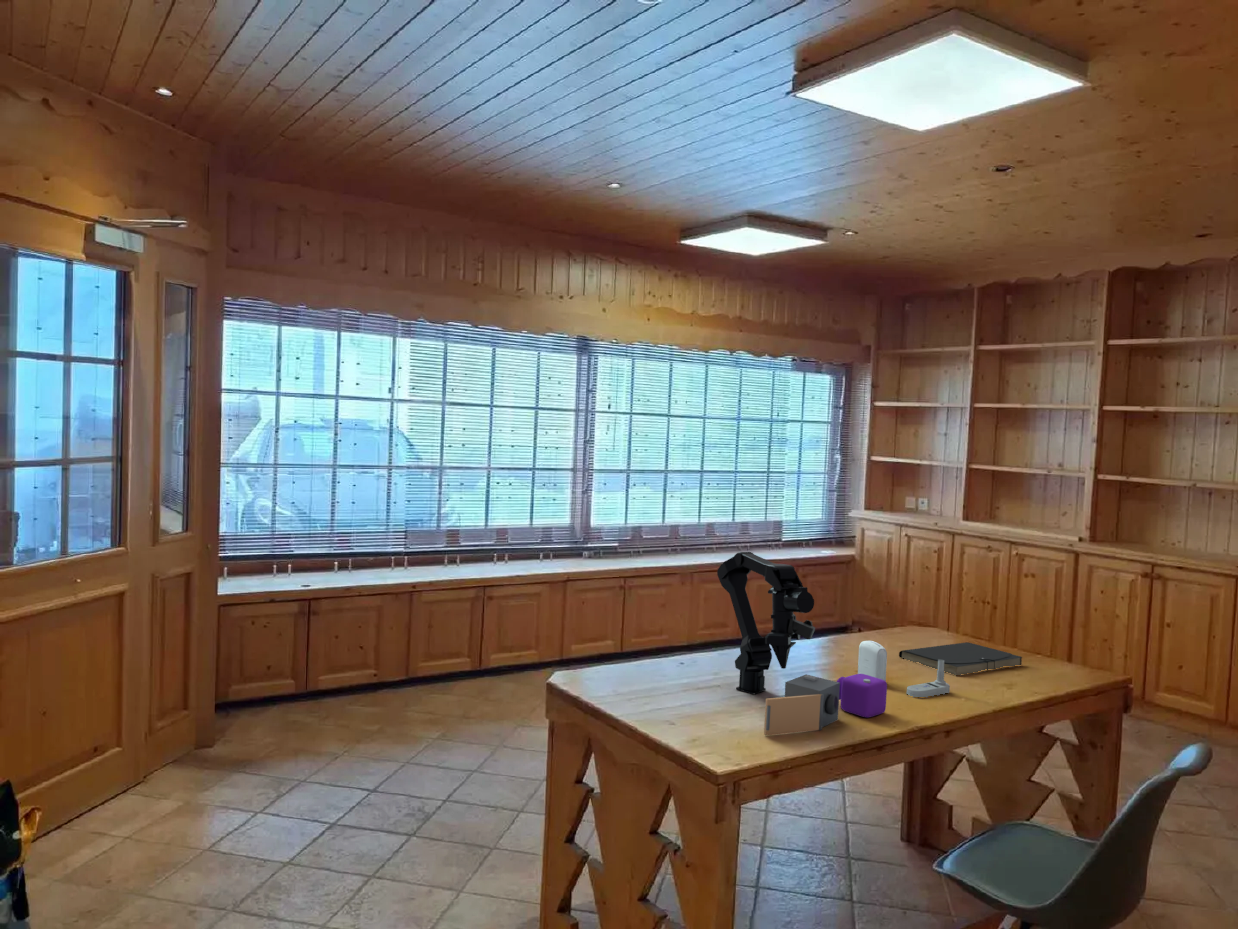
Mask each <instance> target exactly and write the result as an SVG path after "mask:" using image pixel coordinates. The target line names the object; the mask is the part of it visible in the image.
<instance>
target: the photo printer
mask: <svg viewBox="0 0 1238 929" xmlns="http://www.w3.org/2000/svg"><path fill="white" fill-rule="evenodd" d="M887 659H888V652H887V650H886V648H885V647H884V646H883V645H882V644H880V643H879V642H876V641H873V640H863V641H861V642H860V644H859V647H858V664H857V674H865V675H869V676H872V677H876V678H879V679H882V680H884V681H886V680H887V661H888V660H887ZM886 682H887V681H886Z"/></svg>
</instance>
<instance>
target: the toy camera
mask: <svg viewBox="0 0 1238 929" xmlns="http://www.w3.org/2000/svg"><path fill="white" fill-rule="evenodd" d="M836 682H839V683H840V691H839V700H840V708H841V710H842V711H845V712H847V713H850V714H854V715H856V716H858V717H859V716H860V717H862V718H866V719H867V718H872V717H875V716H878V715H881V714H883V713H885V712H886V707H887V694H888V693H887V691H888V684H887V681H884V680H882V679H879V678H876V677H872V676H869V675H865V674H858V673H857V674H856V673H855V674H852V675H849V676H846V677H845V676H840V677H839V678H838V679H837V680H836Z"/></svg>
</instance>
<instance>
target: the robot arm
mask: <svg viewBox="0 0 1238 929" xmlns="http://www.w3.org/2000/svg"><path fill="white" fill-rule="evenodd" d="M796 571H797V570H796V569H795V567H794V566H793V565H792V564H786V563H785V564H784V563H775V562H772V561H769V560H768V559H766V558H763V557H761V556H760V555H759V556H758V555H756V554H755V553H754V552H752V551H739V552H737V553H735V554H734V556H732V557H730V558H729V559H727V560H725V561H724V562H722V563H721V564H720V566H719V567H718V568H717V570H716V572H717V574H716V575H717V577H718V580H719V583H720V585H721V587H722V588H723V589H724V590H725V591H726V592H727V593H728V594H729V597H730V600H731V603H732V607H733V610H734V613H735V614H734V615H735V618H736V622H737V625H738V627H739V632H740V635H741V637H742V640H741V644H740V647H739V650H740V654H739V655H738V656H737V657H736V659H735V660H734V666H735V668H736V670H739V682H738V686H736V688H735V689H736V690H738V691H741V692H744V693H749V694H752V695H756V694H759V693H761V692H764V691H766V690H767V689H766V687H765V684H766V683H765V679H766V677H765V675H764V673H765V672H764V671H768V670H769V669H770V665H771V662H772V659H773V653H772V650H773V652H774V655H775V657H776V660H777V661H778V663H779V666H780V668H781V669H783V670H784V669H786V668H787V666H788V659H789V655H790V651H791V648H793V647H794V646H795V645H796V643H797V641H799V640H800V639H801V637H803V638H804V639H805V640H811V639H812V638H813V635H814V632H815V630H816V627H815V626H814V624H813V621H812V620H808V619H806V620H804V622H803V621H800V620H798V619H797V615H795V614H794V613H799V614H801V613H802V614H808V613H810V612H811V611H813V609H814V607H815V599H814V597H813V595H812V594H811V592H809V591H808V586H806V587H805V586H804V585H803V582H802V581H801V579H800V576H799V575H798V573H797V572H796ZM751 572H754V573H756V574H758V575H760V576H762V577H764V581H765V582H766V583H768V584H769V585H770V587H771V588H769V590H768V591H767V593H768V594H771V596H772V597H771V601H772V602H771V603H772V604H771V605H772V607H771V608H772V613H771V614H770V620H771V619H772V629H770V632H768V633H767V634H766V636H762V635H761V634H760V633H759V630H758V626H757V624H756V620H755V617H754V613H753V611H752V606H751V604H750V599H749V597H748V593H747V590H746V587H747V584H748V580H749V579H748V575H749V574H750V573H751ZM792 639H794V640H797V641H792Z"/></svg>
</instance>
